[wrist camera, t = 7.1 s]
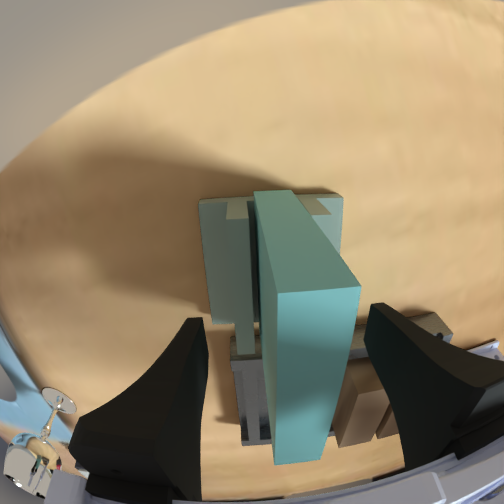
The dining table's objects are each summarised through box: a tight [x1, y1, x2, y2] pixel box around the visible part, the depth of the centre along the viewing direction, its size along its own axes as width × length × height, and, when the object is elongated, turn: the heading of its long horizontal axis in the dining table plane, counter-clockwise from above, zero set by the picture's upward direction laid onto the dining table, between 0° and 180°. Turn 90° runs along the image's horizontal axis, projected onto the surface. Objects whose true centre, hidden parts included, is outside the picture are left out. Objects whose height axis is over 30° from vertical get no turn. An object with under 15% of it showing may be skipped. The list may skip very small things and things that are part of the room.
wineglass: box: [4, 388, 77, 499], centre depth 19 cm, size 6×6×12 cm
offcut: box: [332, 357, 390, 448], centre depth 21 cm, size 3×8×4 cm, turn 2°
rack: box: [230, 313, 453, 446], centre depth 22 cm, size 17×12×3 cm
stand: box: [198, 193, 343, 355], centre depth 17 cm, size 8×8×4 cm
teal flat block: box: [253, 190, 361, 465], centre depth 13 cm, size 2×9×10 cm, turn 2°
